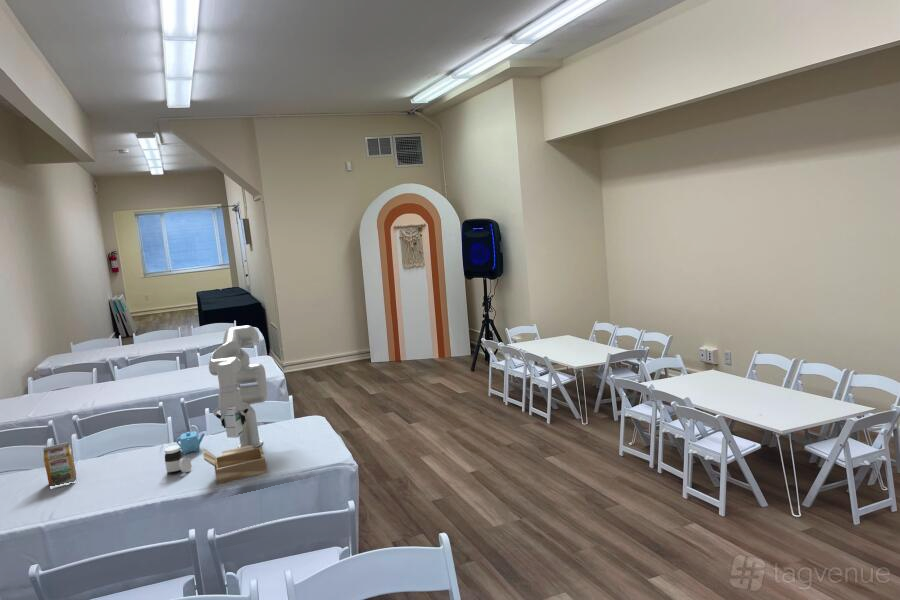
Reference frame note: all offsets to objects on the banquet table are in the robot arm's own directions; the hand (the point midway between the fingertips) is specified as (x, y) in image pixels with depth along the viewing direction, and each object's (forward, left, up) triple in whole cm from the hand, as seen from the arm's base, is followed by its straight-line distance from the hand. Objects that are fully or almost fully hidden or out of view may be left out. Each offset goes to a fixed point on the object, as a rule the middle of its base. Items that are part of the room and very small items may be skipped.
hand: (234, 425), depth 299 cm
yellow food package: (-38, -79, -24) cm, 91 cm away
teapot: (-44, -21, -23) cm, 54 cm away
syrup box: (0, 0, -5) cm, 5 cm away
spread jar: (-19, -27, -23) cm, 41 cm away
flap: (0, -12, -13) cm, 18 cm away
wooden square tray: (-3, 0, -23) cm, 23 cm away
